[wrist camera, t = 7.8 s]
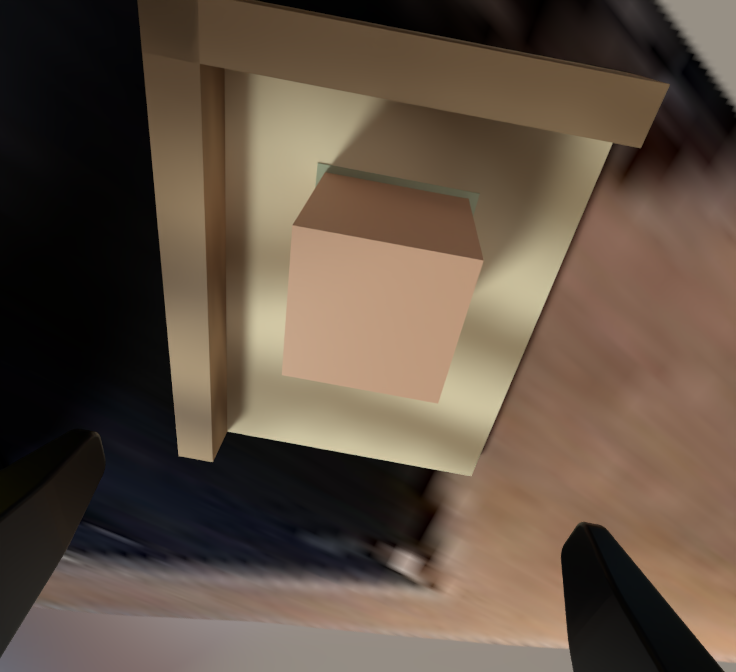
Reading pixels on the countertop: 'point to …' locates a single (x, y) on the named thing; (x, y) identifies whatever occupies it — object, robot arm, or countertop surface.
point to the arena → (364, 161)
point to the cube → (379, 286)
